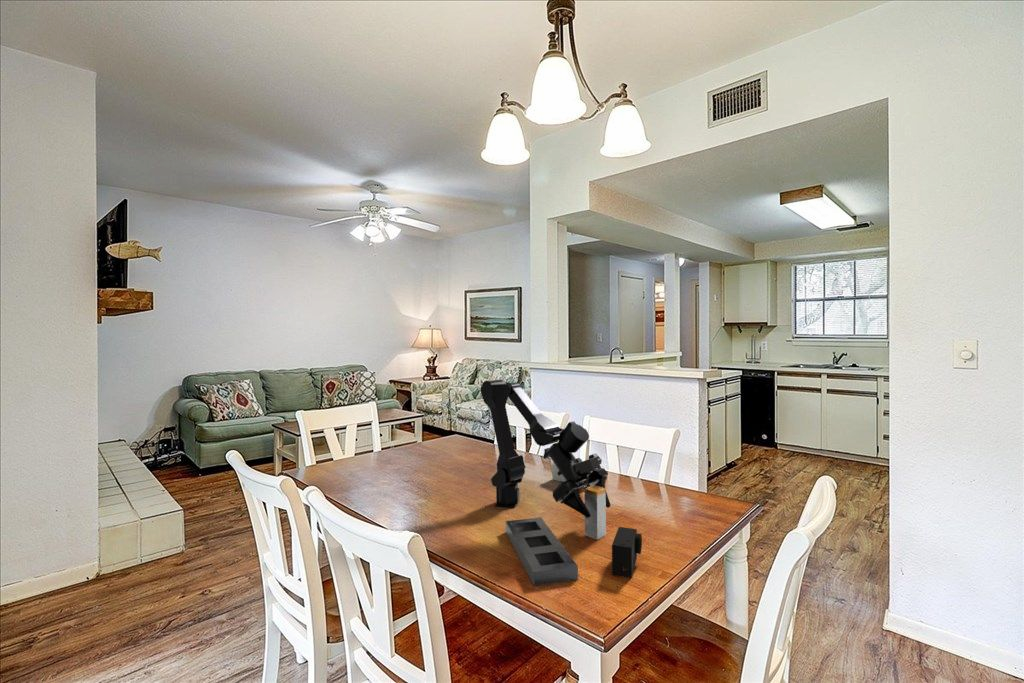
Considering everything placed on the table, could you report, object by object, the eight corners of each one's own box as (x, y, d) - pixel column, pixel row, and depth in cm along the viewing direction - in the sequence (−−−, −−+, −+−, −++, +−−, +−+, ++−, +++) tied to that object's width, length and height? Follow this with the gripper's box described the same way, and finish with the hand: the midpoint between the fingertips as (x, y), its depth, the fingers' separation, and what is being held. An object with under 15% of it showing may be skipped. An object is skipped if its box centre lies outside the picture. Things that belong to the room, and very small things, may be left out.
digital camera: (637, 579, 103) (637, 548, 103) (612, 575, 105) (611, 544, 105) (642, 558, 113) (641, 529, 113) (619, 554, 115) (618, 526, 115)
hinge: (599, 484, 166) (594, 460, 163) (593, 493, 163) (587, 468, 160) (559, 476, 177) (554, 453, 174) (552, 483, 173) (547, 460, 171)
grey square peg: (584, 535, 126) (584, 488, 126) (593, 530, 129) (593, 485, 128) (597, 539, 123) (596, 492, 123) (606, 535, 126) (605, 488, 126)
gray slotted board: (505, 532, 129) (505, 521, 128) (541, 528, 131) (540, 517, 131) (534, 586, 101) (533, 572, 101) (578, 579, 104) (577, 566, 103)
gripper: (560, 452, 121) (597, 505, 114) (601, 439, 135) (637, 486, 127) (538, 476, 127) (571, 528, 120) (579, 461, 140) (612, 508, 133)
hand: (599, 511), depth 125 cm, fingers open, 9 cm apart
